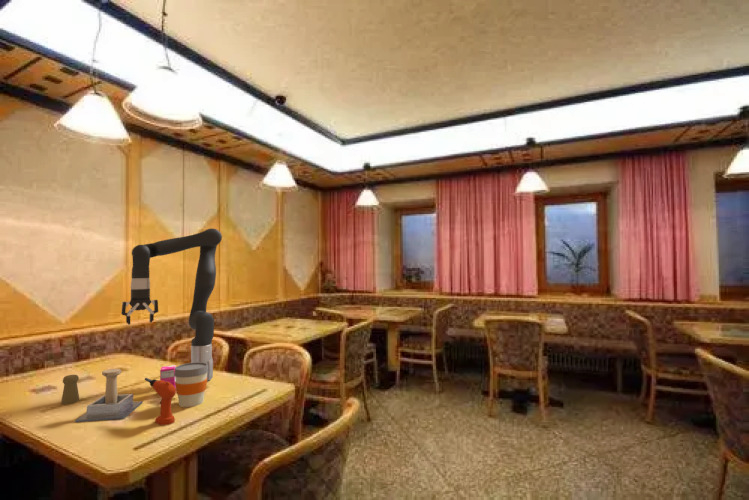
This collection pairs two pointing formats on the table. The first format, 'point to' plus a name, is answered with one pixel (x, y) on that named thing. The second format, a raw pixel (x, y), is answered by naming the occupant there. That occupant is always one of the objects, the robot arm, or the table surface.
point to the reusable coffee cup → (191, 383)
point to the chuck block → (110, 409)
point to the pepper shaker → (70, 390)
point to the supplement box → (168, 374)
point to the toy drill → (164, 400)
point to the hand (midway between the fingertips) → (140, 323)
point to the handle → (111, 385)
